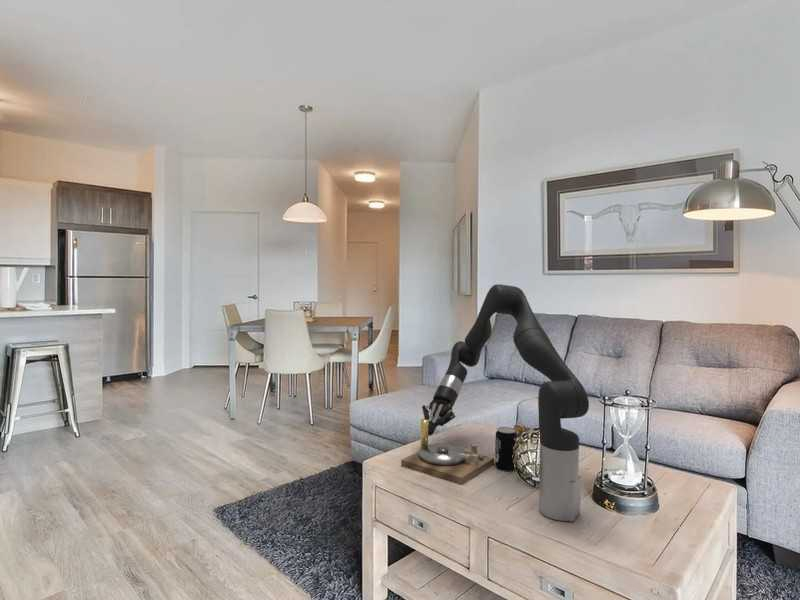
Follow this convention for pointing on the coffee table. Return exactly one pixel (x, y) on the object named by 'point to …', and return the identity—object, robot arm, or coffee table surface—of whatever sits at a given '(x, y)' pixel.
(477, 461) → the turntable
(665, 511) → the coffee table surface
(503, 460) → the beverage can
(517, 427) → the lion figurine
